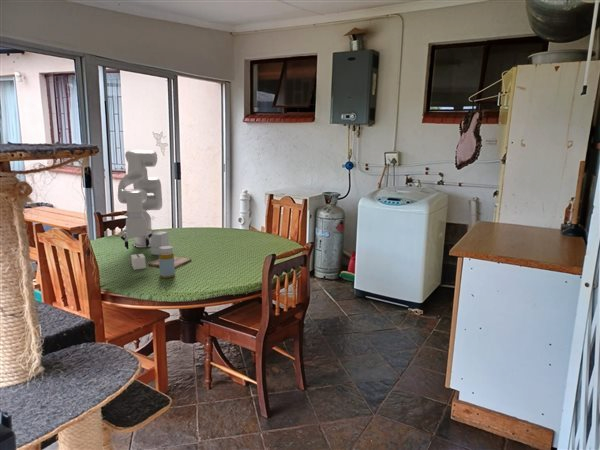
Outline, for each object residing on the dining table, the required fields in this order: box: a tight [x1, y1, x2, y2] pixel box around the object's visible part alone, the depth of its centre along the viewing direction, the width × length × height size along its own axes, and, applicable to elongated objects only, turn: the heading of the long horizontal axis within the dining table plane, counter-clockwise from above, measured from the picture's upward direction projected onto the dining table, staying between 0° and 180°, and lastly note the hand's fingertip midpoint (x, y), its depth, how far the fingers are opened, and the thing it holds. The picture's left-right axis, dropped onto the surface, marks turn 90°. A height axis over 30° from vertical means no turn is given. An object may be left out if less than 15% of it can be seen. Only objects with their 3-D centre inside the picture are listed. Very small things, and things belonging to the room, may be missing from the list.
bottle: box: [158, 245, 176, 279], centre depth 206 cm, size 7×7×15 cm
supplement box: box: [150, 230, 170, 256], centre depth 244 cm, size 7×7×13 cm
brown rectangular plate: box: [148, 252, 192, 269], centre depth 227 cm, size 16×16×5 cm
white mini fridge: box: [130, 253, 147, 271], centre depth 220 cm, size 6×7×6 cm
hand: (137, 247), depth 218 cm, fingers open, 9 cm apart
